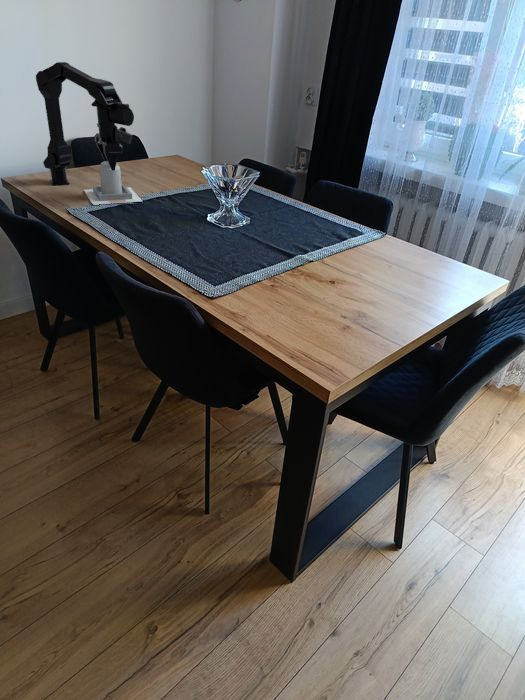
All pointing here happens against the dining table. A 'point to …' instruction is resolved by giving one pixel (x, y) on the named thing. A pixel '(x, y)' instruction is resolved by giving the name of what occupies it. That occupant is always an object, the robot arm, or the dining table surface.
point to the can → (110, 179)
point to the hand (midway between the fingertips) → (110, 167)
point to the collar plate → (111, 196)
